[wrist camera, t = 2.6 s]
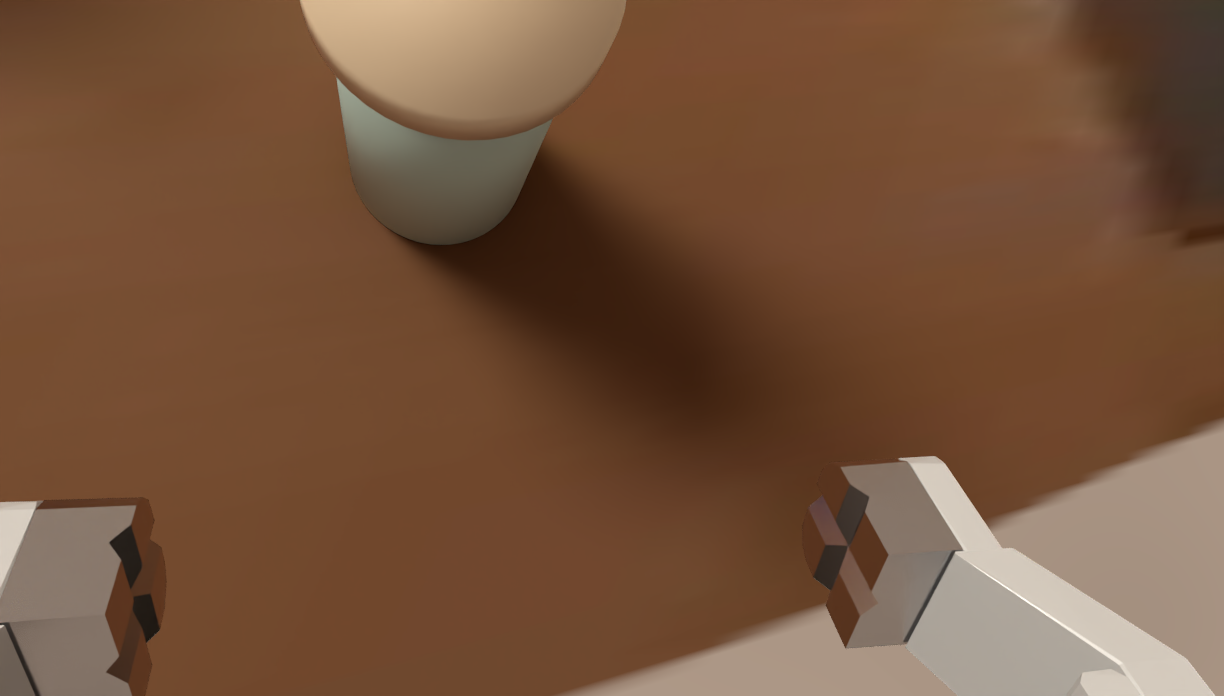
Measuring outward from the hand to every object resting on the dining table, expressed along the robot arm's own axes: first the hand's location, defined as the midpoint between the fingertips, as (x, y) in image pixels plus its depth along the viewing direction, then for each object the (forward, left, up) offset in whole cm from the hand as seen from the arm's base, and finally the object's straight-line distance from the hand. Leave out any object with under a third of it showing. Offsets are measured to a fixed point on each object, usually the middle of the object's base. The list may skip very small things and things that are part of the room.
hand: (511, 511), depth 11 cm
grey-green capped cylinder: (0, +9, -13) cm, 15 cm away
